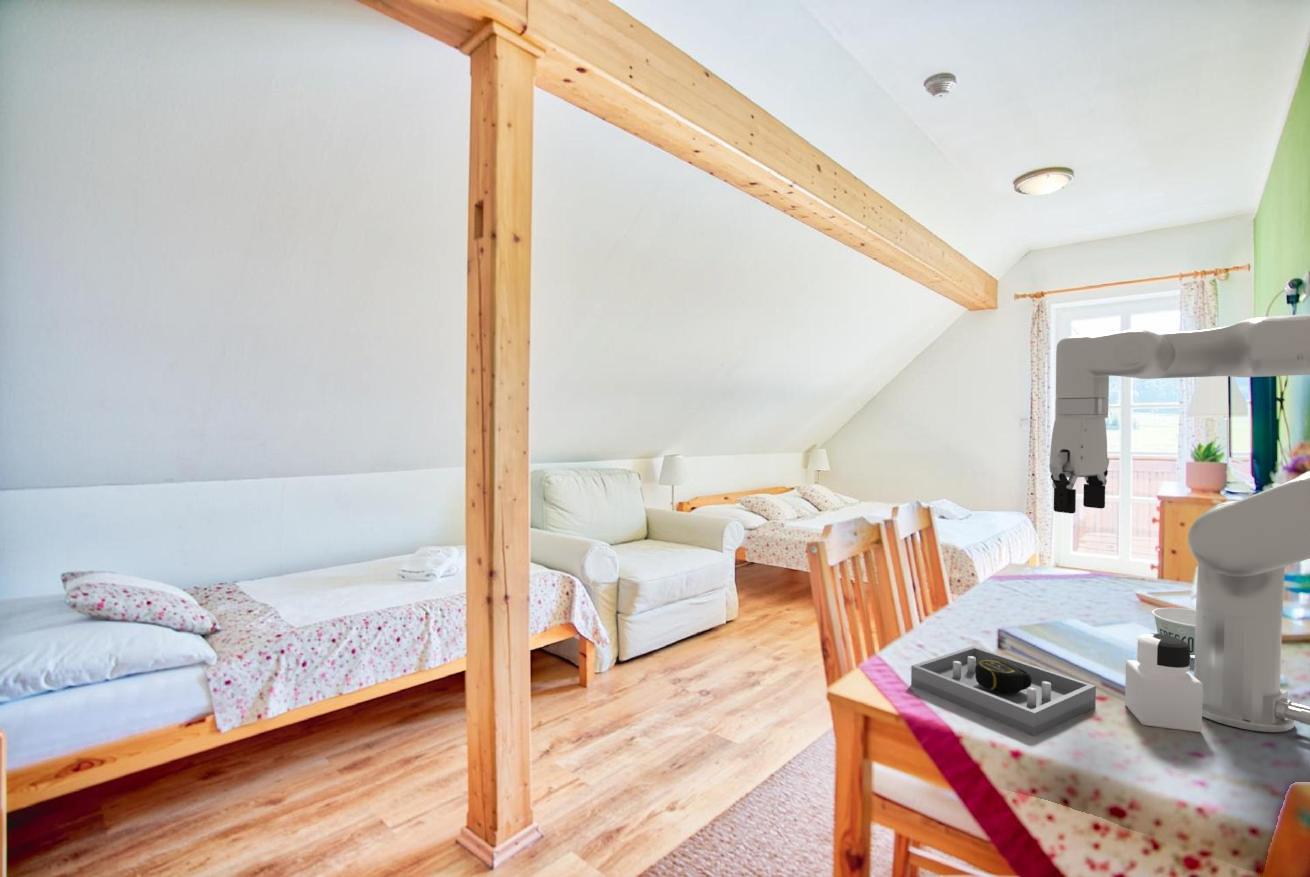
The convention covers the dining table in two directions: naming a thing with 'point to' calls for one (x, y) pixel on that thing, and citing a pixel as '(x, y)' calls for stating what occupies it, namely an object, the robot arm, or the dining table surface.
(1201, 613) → the robot arm
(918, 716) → the dining table surface
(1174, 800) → the dining table surface
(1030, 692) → the pin tray
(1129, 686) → the medicine bottle
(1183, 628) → the food container
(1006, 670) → the tape measure
